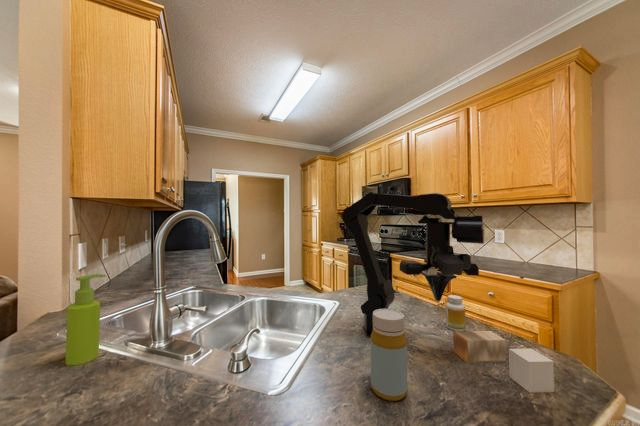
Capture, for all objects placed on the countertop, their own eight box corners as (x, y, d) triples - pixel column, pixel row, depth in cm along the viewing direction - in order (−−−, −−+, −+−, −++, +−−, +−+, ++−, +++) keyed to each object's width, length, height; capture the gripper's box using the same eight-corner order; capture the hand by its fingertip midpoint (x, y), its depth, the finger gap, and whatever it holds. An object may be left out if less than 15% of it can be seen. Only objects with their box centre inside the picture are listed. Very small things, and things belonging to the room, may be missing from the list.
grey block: (529, 392, 49) (528, 361, 49) (509, 376, 54) (508, 348, 54) (554, 392, 49) (553, 361, 49) (531, 376, 54) (531, 348, 54)
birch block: (465, 340, 60) (505, 339, 60) (453, 331, 65) (490, 330, 65) (465, 361, 60) (505, 361, 60) (453, 350, 65) (491, 350, 65)
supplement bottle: (469, 331, 76) (468, 299, 76) (451, 331, 76) (450, 299, 76) (459, 324, 81) (459, 294, 82) (443, 324, 81) (442, 294, 82)
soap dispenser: (108, 353, 63) (110, 274, 64) (72, 368, 57) (75, 279, 58) (96, 348, 66) (98, 272, 66) (60, 362, 59) (63, 277, 60)
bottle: (407, 383, 52) (406, 310, 52) (407, 406, 45) (406, 323, 46) (373, 376, 54) (372, 306, 55) (368, 397, 48) (368, 318, 48)
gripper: (415, 243, 58) (414, 311, 58) (494, 244, 58) (494, 312, 58) (398, 239, 69) (398, 296, 69) (465, 240, 69) (465, 297, 69)
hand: (437, 300), depth 66 cm, fingers closed
